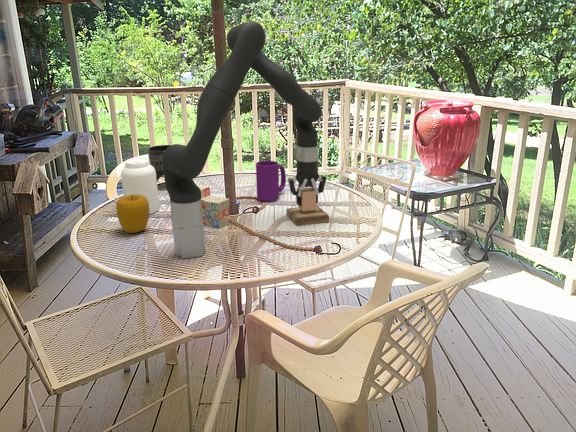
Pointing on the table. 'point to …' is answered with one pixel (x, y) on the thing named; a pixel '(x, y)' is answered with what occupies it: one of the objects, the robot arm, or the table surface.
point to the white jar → (141, 181)
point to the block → (308, 199)
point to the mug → (269, 180)
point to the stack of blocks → (214, 208)
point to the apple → (133, 213)
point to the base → (307, 216)
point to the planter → (157, 158)
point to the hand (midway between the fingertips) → (307, 204)
